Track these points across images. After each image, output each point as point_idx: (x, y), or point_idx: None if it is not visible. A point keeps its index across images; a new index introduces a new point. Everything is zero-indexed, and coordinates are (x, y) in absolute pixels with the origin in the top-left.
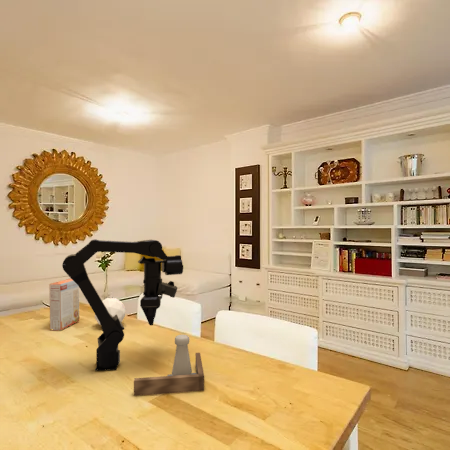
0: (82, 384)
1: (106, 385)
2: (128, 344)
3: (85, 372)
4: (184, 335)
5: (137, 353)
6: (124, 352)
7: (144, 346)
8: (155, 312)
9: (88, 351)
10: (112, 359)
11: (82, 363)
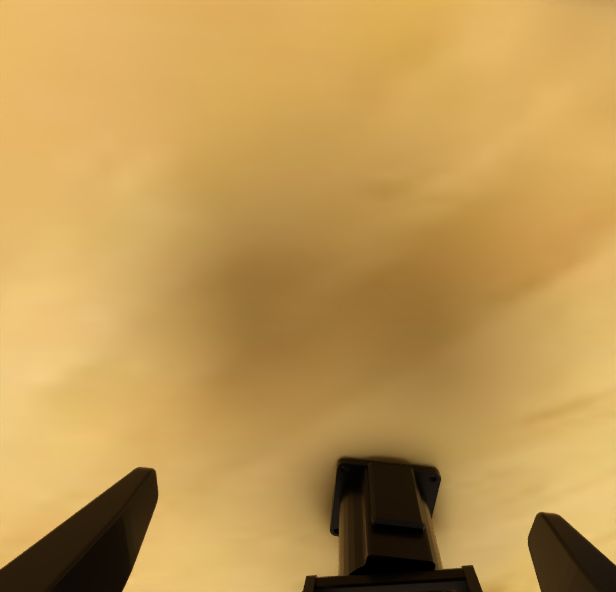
0: None
1: (593, 492)
2: (92, 423)
3: None
4: None
5: (235, 378)
6: (211, 438)
7: (126, 342)
8: (113, 531)
9: (180, 569)
10: (427, 521)
11: None
